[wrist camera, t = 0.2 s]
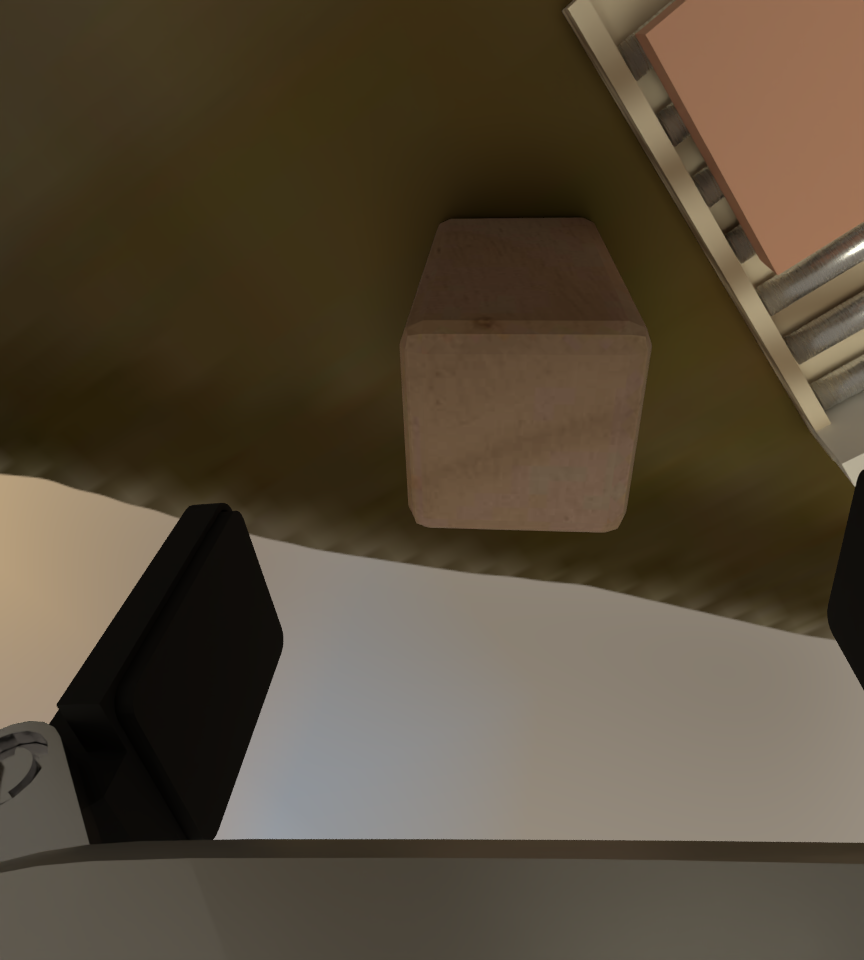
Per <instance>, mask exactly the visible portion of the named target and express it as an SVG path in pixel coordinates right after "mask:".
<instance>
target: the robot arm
mask: <svg viewBox="0 0 864 960" xmlns="http://www.w3.org/2000/svg"><path fill="white" fill-rule="evenodd" d="M827 616H828V623H829V626H830V629H831V632H832V634H833V636H834V637H835V639H836V641H837V643H838V644H839V646H840V648H841V650H842V652H843V654H844V655H845V657H846V659H847V661H848V662H849V664H850V666H851V668H852V670H853V671H854V673H855V675H856V677H857V678H858V680H859V682H860V684H861V686H862V688H863V690H864V470H862V471H861V472H860V473H859V476H858V478H857V482H856V487H855V491H854V495H853V500H852V504H851V508H850V513H849V517H848V521H847V526H846V530H845V534H844V539H843V543H842V547H841V552H840V556H839V560H838V565H837V569H836V573H835V578H834V582H833V586H832V591H831V595H830V599H829V604H828V610H827ZM282 648H283V631H282V628H281V625H280V622H279V619H278V616H277V613H276V611H275V608H274V605H273V602H272V599H271V596H270V593H269V590H268V588H267V585H266V582H265V579H264V576H263V574H262V571H261V568H260V565H259V562H258V559H257V556H256V553H255V550H254V547H253V545H252V542H251V539H250V536H249V533H248V530H247V527H246V525H245V522H244V519H243V517H242V515H241V513H240V512H238V511H232V509H231V508H230V507H229V505H228V504H225V503H215V504H201V505H192V506H189V507H188V508H187V509H186V510H185V512H184V513H183V515H182V516H181V518H180V519H179V521H178V522H177V524H176V525H175V527H174V529H173V530H172V531H171V533H170V534H169V536H168V537H167V539H166V540H165V542H164V543H163V545H162V547H161V548H160V550H159V551H158V553H157V554H156V556H155V557H154V559H153V560H152V562H151V563H150V565H149V566H148V568H147V569H146V571H145V572H144V574H143V575H142V577H141V578H140V580H139V581H138V583H137V584H136V586H135V587H134V589H133V590H132V592H131V593H130V595H129V596H128V598H127V599H126V601H125V602H124V604H123V605H122V607H121V608H120V610H119V612H118V613H117V614H116V616H115V617H114V619H113V620H112V622H111V623H110V625H109V626H108V628H107V629H106V631H105V632H104V634H103V635H102V637H101V638H100V640H99V642H98V643H97V644H96V646H95V647H94V649H93V650H92V652H91V653H90V655H89V657H88V658H87V660H86V661H85V662H84V664H83V666H82V667H81V668H80V670H79V671H78V673H77V675H76V676H75V677H74V679H73V681H72V682H71V683H70V685H69V687H68V688H67V690H66V691H65V693H64V694H63V696H62V697H61V699H60V700H59V702H58V703H57V707H58V708H59V710H58V712H57V713H56V715H55V717H54V718H53V719H52V721H51V722H50V724H47V723H45V722H36V721H28V722H23V723H18V724H13V725H10V726H8V727H5V728H3V729H0V960H864V843H824V842H823V843H822V842H734V841H730V842H729V841H625V840H622V841H621V840H615V841H614V840H453V839H451V840H450V839H441V840H440V839H435V840H434V839H240V840H213V839H214V838H215V836H216V834H217V832H218V830H219V827H220V824H221V821H222V819H223V815H224V813H225V810H226V807H227V804H228V801H229V799H230V796H231V793H232V790H233V787H234V785H235V782H236V779H237V776H238V773H239V771H240V768H241V765H242V762H243V759H244V757H245V754H246V751H247V748H248V745H249V743H250V740H251V737H252V734H253V731H254V728H255V726H256V723H257V720H258V717H259V714H260V711H261V708H262V706H263V703H264V700H265V698H266V694H267V692H268V689H269V686H270V683H271V681H272V678H273V675H274V672H275V669H276V667H277V664H278V661H279V658H280V655H281V652H282Z"/></svg>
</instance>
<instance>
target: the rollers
mask: <svg viewBox="0 0 864 960" xmlns="http://www.w3.org/2000/svg"><path fill="white" fill-rule="evenodd" d="M674 1H675V0H671V1H670V2H669V3H668V4H667V5H665V6H664V7H663V8H662V9H661V10H659V11H658V12H657V13H656V14H655V15H653V16H652V17H651V18H650V19H649V20H648V21H646V22H645V23H644V24H643V25H642V26H640V27H639V28H638V29H637V30H636V31H635V32H633V33H632V34H631V35H630V36H629V37H627V38H626V39H625V40H624V41H623V42H622V43H620V44H619V45H618V46H617V49H618V51H619V52H620V54H621V56H622V58H623V59H624V61H625V63H626V65H627V66H628V68H629V70H630V72H631V73H632V75H633V77H634V79H635V80H636V81H638V80H639V79H641V78H642V77H643V76H644V75H646V74H647V73H648V72H649V71H651V70H652V69H653V66H652V65H651V63H650V61H649V59H648V57H647V56H646V54H645V52H644V50H643V48H642V47H641V45H640V43H639V41H638V39H637V38H636V36H635V34H636V33H637V32H639V31H640V30H641V29H642V28H643V27H644V26H646V25H647V24H648V23H649V22H650V21H652V20H653V19H654V18H655V17H656V16H658V15H659V14H660V13H661V12H662V11H663V10H665V9H666V8H667V7H668V6H669V5H671V4H672V3H673V2H674ZM656 117H657V119H658V121H659V122H660V124H661V126H662V128H663V129H664V131H665V133H666V135H667V136H668V138H669V140H670V142H671V143H672V145H673V146H674V147H675V146H677V145H678V144H679V143H681V142H682V141H683V140H685V139H686V138H687V137H689V136H690V133H689V131H688V129H687V128H686V126H685V124H684V122H683V120H682V119H681V117H680V115H679V113H678V111H677V110H676V108H675V106H674V104H673V102H671V103H670V104H669V105H667V106H666V107H665V108H663V109H662V110H661V111H660V112H658V113H657V114H656ZM691 179H692V180H693V182H694V184H695V186H696V187H697V189H698V191H699V193H700V194H701V196H702V198H703V200H704V201H705V203H706V205H707V206H708V207H711V206H713V205H714V204H716V203H717V202H718V201H720V200H721V199H723V198H724V197H725V196H724V194H723V192H722V191H721V189H720V187H719V185H718V183H717V182H716V180H715V178H714V176H713V174H712V173H711V171H710V169H709V167H708V165H707V166H706V167H705V168H703V169H702V170H700V171H699V172H698V173H696V174H695V175H694V176H692V177H691ZM724 236H725V238H726V240H727V242H728V243H729V245H730V247H731V249H732V250H733V252H734V254H735V256H736V257H737V259H738V261H739V262H740V263H741V264H742V263H744V262H746V261H747V260H749V259H750V258H752V257H753V256H755V255H756V252H755V250H754V248H753V247H752V245H751V243H750V241H749V239H748V238H747V236H746V234H745V232H744V230H743V229H742V227H741V225H738V226H737V227H735V228H734V229H732V230H731V231H729V232H728V233H726V234H725V235H724ZM862 261H864V222H862V223H861V224H859V225H858V226H856V227H854V228H853V229H851V230H850V231H848V232H846V233H845V234H843V235H842V236H840V237H838V238H837V239H835V240H834V241H832V242H830V243H829V244H827V245H826V246H824V247H822V248H821V249H819V250H818V251H816V252H815V253H813V254H811V255H810V256H808V257H807V258H805V259H803V260H802V261H800V262H799V263H797V264H795V265H794V266H792V267H791V268H789V269H787V270H786V271H784V272H783V273H781V274H779V275H775V276H773V277H772V278H770V279H769V280H767V281H765V282H764V283H762V284H761V285H759V286H758V287H756V288H754V289H755V291H756V292H757V294H758V296H759V298H760V299H761V301H762V303H763V305H764V307H765V308H766V310H767V312H768V313H769V314H770V315H771V316H773V315H775V314H776V313H778V312H779V311H781V310H783V309H784V308H786V307H788V306H789V305H791V304H793V303H794V302H796V301H798V300H799V299H801V298H803V297H804V296H806V295H808V294H809V293H811V292H813V291H814V290H816V289H818V288H819V287H821V286H822V285H824V284H826V283H827V282H829V281H831V280H832V279H834V278H836V277H837V276H839V275H841V274H842V273H844V272H846V271H847V270H849V269H851V268H852V267H854V266H856V265H857V264H859V263H861V262H862ZM862 329H864V291H862V292H860V293H858V294H857V295H855V296H853V297H852V298H850V299H848V300H847V301H845V302H843V303H841V304H840V305H838V306H836V307H835V308H833V309H831V310H830V311H828V312H826V313H824V314H823V315H821V316H819V317H818V318H816V319H814V320H813V321H811V322H809V323H807V324H806V325H804V326H802V327H801V328H799V329H797V330H795V331H794V332H792V333H790V334H789V335H787V336H785V337H784V338H783V340H784V342H785V343H786V345H787V347H788V349H789V350H790V352H791V354H792V356H793V357H794V359H795V360H796V362H797V363H798V364H799V365H800V364H802V363H804V362H806V361H807V360H809V359H811V358H813V357H814V356H816V355H818V354H820V353H821V352H823V351H825V350H827V349H829V348H830V347H832V346H834V345H836V344H837V343H839V342H841V341H843V340H844V339H846V338H848V337H850V336H852V335H853V334H855V333H857V332H859V331H860V330H862ZM809 385H810V387H811V389H812V391H813V392H814V394H815V396H816V398H817V399H818V401H819V403H820V405H821V406H822V407H823V408H824V409H825V410H827V409H829V408H831V407H833V406H835V405H837V404H838V403H840V402H842V401H844V400H846V399H848V398H850V397H852V396H854V395H855V394H857V393H859V392H861V391H863V390H864V354H863V355H861V356H859V357H857V358H856V359H854V360H852V361H850V362H848V363H847V364H845V365H843V366H841V367H839V368H838V369H836V370H834V371H832V372H830V373H828V374H827V375H825V376H823V377H821V378H819V379H818V380H816V381H814V382H812V383H810V384H809Z"/></svg>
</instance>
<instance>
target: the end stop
mask: <svg viewBox="0 0 864 960" xmlns="http://www.w3.org/2000/svg"><path fill="white" fill-rule="evenodd" d="M822 408H823V407H822ZM823 410H824V412H825V413H826V415H827V417H828V419H829V420H830V422H831V424H830V425H828V426H826V427H824V428H822V429H821V430H819V431H817V432H815V430H814V429H813V428H812V426H811V425H810V424H809V423H808V421H807V420H806V419H805V418H804V419H805V420H806V422H807V424H808V425H809V427H810V429H811V431H812V432H813V434H814V435H815V437H816V438H817V439H818V441H819V442H820V443H821V444H822V446H823V447H824V448H825V449H826V451H827V452H828V453H829V455H830V456H831V457H832V458H833V460H834V461H835V462H836V463H837V465H838V466H839V467H840V469H841V470H842V471H843V472H844V474H845V475H846V476H847V477H848V479H849V480H850V481H851V483H852V484H853V485H854V486H856V482H857V478H858V476H859V473H860V472H861V471H862V470H864V390H863V391H861V392H859V393H857V394H855V395H854V396H852V397H850V398H848V399H846V400H844V401H842V402H840V403H838V404H837V405H835V406H833V407H831V408H829V409H827V410H825V409H824V408H823ZM803 417H804V416H803Z"/></svg>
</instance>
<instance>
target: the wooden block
mask: <svg viewBox="0 0 864 960" xmlns="http://www.w3.org/2000/svg"><path fill="white" fill-rule="evenodd" d="M651 348H652V344H651V341H650V337H649V334H648V330H647V327H646V325H645V323H644V321H643V319H642V318H641V316H640V314H639V312H638V310H637V308H636V306H635V304H634V302H633V300H632V298H631V296H630V294H629V292H628V290H627V288H626V286H625V284H624V282H623V280H622V278H621V276H620V274H619V272H618V270H617V268H616V266H615V264H614V262H613V260H612V258H611V256H610V254H609V252H608V250H607V248H606V246H605V244H604V242H603V240H602V238H601V236H600V234H599V232H598V230H597V228H596V226H595V224H594V222H592V221H589V220H587V219H585V218H483V219H449V220H447V221H445V222H443V223H440V224H439V226H438V229H437V232H436V234H435V237H434V240H433V243H432V246H431V249H430V252H429V256H428V259H427V262H426V265H425V268H424V271H423V274H422V277H421V280H420V283H419V286H418V289H417V292H416V295H415V298H414V301H413V304H412V307H411V311H410V314H409V317H408V320H407V323H406V326H405V329H404V332H403V335H402V338H401V341H400V362H401V380H402V397H403V415H404V433H405V451H406V468H407V486H408V504H409V507H410V509H411V511H412V513H413V515H414V518H415V520H416V523H418V524H421V525H423V526H426V527H431V528H466V529H501V530H536V531H572V532H607V531H611V530H614V529H617V528H618V526H619V524H620V523H621V521H622V519H623V517H624V515H625V513H626V509H627V502H628V496H629V490H630V483H631V477H632V470H633V464H634V457H635V451H636V445H637V438H638V432H639V425H640V419H641V412H642V406H643V400H644V393H645V387H646V380H647V374H648V367H649V361H650V354H651Z"/></svg>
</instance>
